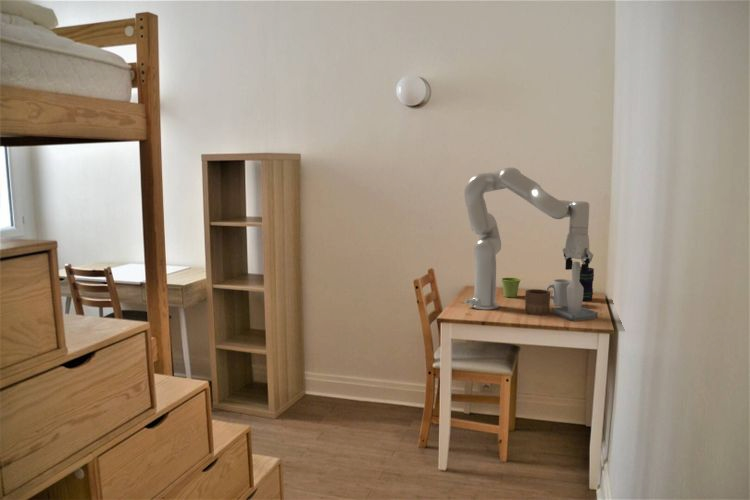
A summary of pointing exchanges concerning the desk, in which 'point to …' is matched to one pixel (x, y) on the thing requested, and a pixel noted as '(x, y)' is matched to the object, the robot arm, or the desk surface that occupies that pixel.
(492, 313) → the desk surface
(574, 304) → the faceted bottle
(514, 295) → the plant pot
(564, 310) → the tray
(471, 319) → the desk surface
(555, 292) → the mug
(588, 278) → the storage jar
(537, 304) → the holder
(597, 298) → the desk surface
